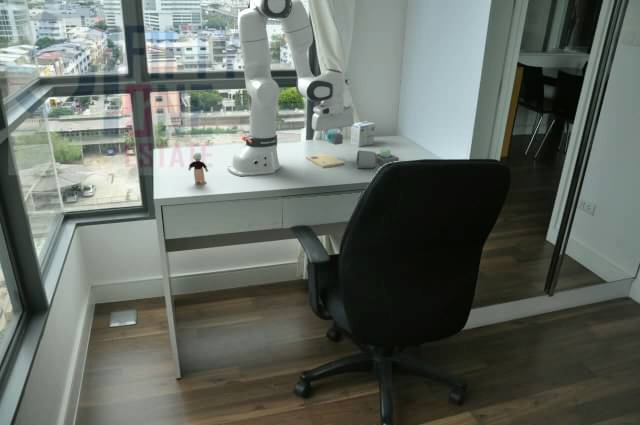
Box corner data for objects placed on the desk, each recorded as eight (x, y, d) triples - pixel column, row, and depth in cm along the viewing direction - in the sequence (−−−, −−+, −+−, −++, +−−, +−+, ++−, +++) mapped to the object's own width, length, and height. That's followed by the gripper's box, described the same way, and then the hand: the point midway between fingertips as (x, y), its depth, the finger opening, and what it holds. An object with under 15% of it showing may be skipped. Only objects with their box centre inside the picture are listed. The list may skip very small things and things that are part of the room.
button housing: (382, 166, 224) (383, 160, 223) (370, 160, 231) (371, 154, 230) (398, 163, 228) (398, 157, 227) (386, 158, 235) (386, 152, 234)
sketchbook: (322, 168, 220) (322, 165, 219) (305, 158, 231) (305, 156, 231) (343, 164, 225) (343, 162, 224) (326, 155, 237) (326, 153, 236)
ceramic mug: (376, 170, 219) (377, 153, 216) (357, 170, 219) (358, 153, 216) (372, 163, 229) (374, 146, 226) (355, 162, 228) (356, 146, 225)
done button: (383, 160, 226) (384, 152, 224) (377, 157, 229) (377, 150, 228) (392, 159, 228) (392, 151, 227) (385, 156, 232) (386, 148, 230)
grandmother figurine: (209, 181, 201) (207, 150, 196) (208, 184, 197) (206, 153, 192) (189, 181, 200) (187, 151, 194) (188, 185, 196) (186, 154, 191)
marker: (323, 139, 229) (323, 130, 228) (330, 138, 231) (330, 129, 230) (335, 145, 222) (335, 136, 220) (342, 143, 223) (342, 135, 222)
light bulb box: (364, 140, 261) (366, 120, 257) (374, 144, 257) (375, 123, 252) (349, 144, 255) (351, 123, 251) (358, 147, 250) (360, 126, 246)
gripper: (349, 103, 227) (348, 133, 233) (310, 108, 218) (309, 139, 223) (357, 106, 222) (356, 136, 228) (317, 111, 213) (317, 142, 219)
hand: (332, 138), depth 226 cm, fingers closed on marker, 4 cm apart
